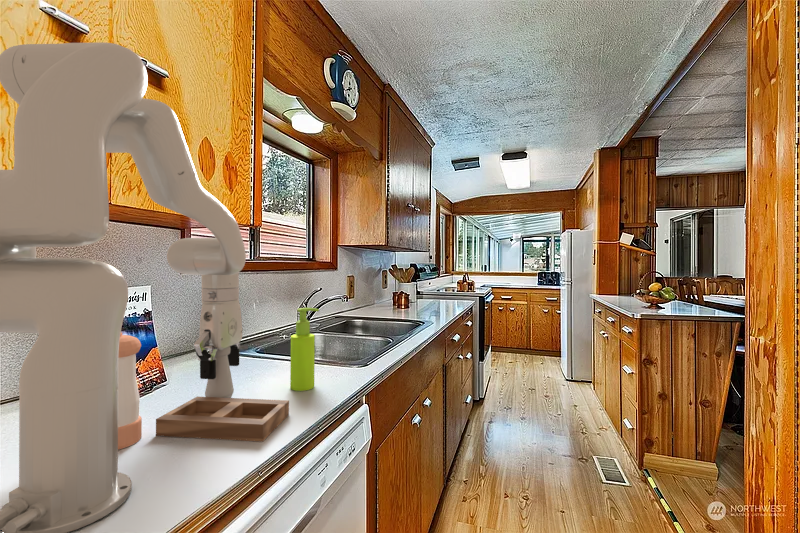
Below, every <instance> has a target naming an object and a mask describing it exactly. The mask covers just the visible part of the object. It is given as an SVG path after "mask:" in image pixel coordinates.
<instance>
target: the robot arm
mask: <svg viewBox="0 0 800 533" xmlns="http://www.w3.org/2000/svg"><path fill="white" fill-rule="evenodd" d="M0 84H1V86H2V88H3V89H4V91H5V92H6V94H7V95H8V96H9V97H10V98H11V99H12V100H13V101H14V102H15V103H16V104H18V107H17V109H16V110H17V111H16V114H15V117H14V118H15V119H14V128H13V130H14V131H13V132H14V133H13V134H14V137H13V138H14V144H13V145H14V146H13V147H14V148H13V149H14V150H13V151H14V157H13V159H14V164H13V168H12V169H0V333H7V334H8V333H11V334H12V333H13V334H15V333H16V334H17V333H18V334H20V333H21V334H38V336H37V338H36V341H35V342H34V344H33V345H32V347H31V349H30V350H29V352H28V353H27V355H26V357H25V359H24V360H23V363H22V365H21V369H20V373H19V379H18V380H19V381H18V385H19V386H18V396H19V401H18V402H19V404H18V405H19V406H18V407H19V411H18V418H19V420H18V422H19V424H18V428H19V429H18V430H19V431H18V432H19V433H18V435H19V436H18V438H19V439H18V442H19V443H18V456H19V457H18V478H19V479H18V487H17V488H14V489H13V490H11V491H9V492H8V502H7V503H5V504H4V505H3V506H2V507H1V509H0V530H2V532H4V533H70V532H72V531H76V530H78V529H81V528H83V527H86V526H88V525H90V524H91V525H92V524H93V523H95V522H97V521H98V520H99V521H100V520H101V519H104V517H106V516H108V515H109V514H111V513H112V512H114V511H115V510H117V509H118V508H119V507H121V506H122V505H123V504H124V502H126V500H127V499H128V498H129V496H130V495H131V492H132V488H133V486H132V484H133V482H132V479H131V477H130V476H129V475H127V474H125V473H123V472H119V471H118V470H119V468H118V467H119V464H118V462H119V461H118V460H119V456H118V455H119V450H118V355H119V340H120V333H121V332H122V329H123V328H122V326H123V322H124V318H125V314H126V311H127V310H126V309H127V305H128V302H129V301H128V300H129V286H128V283H127V280H126V279H125V277H124V275H123V274H122V272H120V270H119V269H118V268H116V267H115V266H113V265H111V264H109V263H107V262H104V261H101V260H96V259H93V258H85V257H84V258H81V257H37V248H70V247H71V248H73V247H74V248H75V247H82V246H89V245H92V244H95V243H97V242H99V241H100V240H102V239H103V237H104V236H105V235H106V233H107V232H108V229H109V224H110V206H109V205H110V204H109V201H110V200H109V188H108V187H109V186H108V169H107V168H108V167H107V153H110V154H111V153H112V154H113V153H115V154H118V153H119V154H120V153H121V154H122V153H123V154H124V153H126V154H130V155H131V157H132V159H133V161H134V164H135V166H136V169H137V170H138V173H139V175H140V178H141V179H142V182H143V185H144V187H145V189H146V191H147V192H146V193H147V194H148V196H149V199H150V200H152V201H153V202H154V203H156V204H157V205H160V206H161V207H163V208H165V209H168V210H170V211H173V212H175V213H178V214H180V215H183V216H185V217H188V218H190V219H192V220H194V221H196V222H197V223H199V224H201V225H203V226H204V227H205V228H206V229H207V230H208V231H210V232H211V233H212V235H213V236H214V237H185V238H184V237H183V238H180V239H177V240H176V241H174V242H173V243H171V245H169V247H168V249H167V253H166V260H167V263H168V265H169V266H170V268H171V269H172V270H173V271H175V272H177V273H179V274H182V275H187V276H188V275H189V276H201V311H200V319H199V320H200V321H199V337H198V338H197V339H196V340H195V342H194V343H193V347H194V349H195V354H196V356H197V358H198V359H197V360H198V361H199V378H200V379H201V380H208V379H215V378H216V360H213V359H214V357H215V354H216V352H217V349H219V350H223V349H225V348H228V347H230V349H231V350H230V354H229V355H228V361H229V366H230V367H238V366H240V348H241V341H242V340H243V323H242V322H243V321H242V320H243V319H242V310H241V304H240V298H239V294H240V293H239V292H240V287H239V286H240V285H239V284H240V283H239V278H240V276H239V273H240V272H241V271H242V270H243V269H244V267H245V264H246V261H247V260H246V257H247V256H246V253H247V252H246V247H245V243H244V240H243V236H242V233H241V230H240V227H239V224H238V221H237V220H236V219H235V217H234V215H233V214H232V213H231V212H230V210H228V208H227V207H226V206H225V205H224V204H223V203H221V201H219V200H218V199H217V198H216V197H215V196H214V195H212V194H211V193H210V192H208V190H206V189H205V188H204V187H203V186H202V184H201V182H200V180H199V177H198V174H197V170H196V168H195V165H194V163H193V160H192V156H191V153H190V151H189V147H188V145H187V142H186V139H185V135H184V133H183V130H182V127H181V124H180V122H179V119H178V117H177V114H176V113H175V111H174V109H172V107H170V106H169V105H168V104H166V103H165V102H162V101H160V100H158V99H157V100H156V99H150V98H144V96H145V94H146V91H147V88H148V72H147V67H146V66H145V64H144V62H143V60H142V59H141V57H140V56H139V55H138V54H137V53H135V51H133V50H131V49H130V48H127V47H126V46H123V45H120V44H117V43H114V42H113V43H112V42H65V43H63V42H62V43H33V44H32V43H29V44H28V43H27V44H18V45H13V46H11V47H7V48H6V49H4V50H3V51H2V52H1V54H0ZM212 345H213V346H212ZM209 350H211V352H210V354H209Z"/></svg>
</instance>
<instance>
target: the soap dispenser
mask: <svg viewBox="0 0 800 533" xmlns="http://www.w3.org/2000/svg"><path fill="white" fill-rule="evenodd" d="M296 311H297V312H299V319H298V320H297V321H296V322H295V334H292V335H290V370H289V371H290V381H289V382H290V383H289V384H290V385H289V386H290V390H291V391H297V392H298V391H299V392H303V391H310V390H311V389H314V388H315V361H316V360H315V359H316V357H315V353H316V351H315V349H316V348H315V342H316V340H315V338H316V335H315V334H314V333H311V331H310V330H311V326H310V325H311V324H310V323H311V322H310V320H308V319H307V312H310V311H311V312H319V311H320V309H319V308H315V307H301V308H297V309H296Z"/></svg>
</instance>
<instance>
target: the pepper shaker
mask: <svg viewBox="0 0 800 533" xmlns="http://www.w3.org/2000/svg"><path fill="white" fill-rule="evenodd" d="M141 347H142V343H141V341H140V339H139V338H138V337H136V336H132V335H129V334H123V332H122V331H121V333H120V340H119V355H118V451H119V450H122V449H125V448H128V447H130V446H133V445H134V444H136V443H138V442H139V441H140V440H141V439H142V434H143V432H142V430H143V429H142V426H143V425H142V420H143V419H142V416H141V415H140V400H141V399H140V392H139V387H138V382H137V373H136V372H137V357H136V356H137V354H138V353H140V350H141Z"/></svg>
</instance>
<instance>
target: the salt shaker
mask: <svg viewBox="0 0 800 533" xmlns="http://www.w3.org/2000/svg"><path fill="white" fill-rule="evenodd" d="M212 346H213V345H212ZM230 350H231V349H230V347H228V348H225V349H223V350H219V349H217V352H216V354H215V357H214V359H213V360H216V378H215V379H207V381H206V382H207V383H206V387H205V391H204V397H220V398H233V394H234V390H235V389H234V383H233V379H232V373H231V366H229V361H228V355H229V354H230ZM210 352H211V350H208V353H209V354H210Z"/></svg>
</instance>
